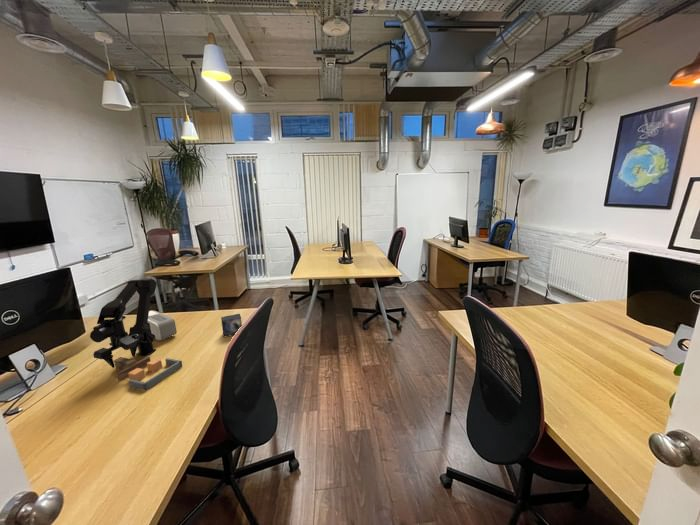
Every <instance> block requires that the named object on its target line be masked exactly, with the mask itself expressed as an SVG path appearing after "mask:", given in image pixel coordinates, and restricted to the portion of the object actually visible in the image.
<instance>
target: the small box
mask: <svg viewBox="0 0 700 525" xmlns="http://www.w3.org/2000/svg"><path fill="white" fill-rule="evenodd" d="M220 320H221V328H222V329H221V330H222V334H223V335H224V336H228V337H230V336H229V335H232V336H235V335H234V334H235V333H236V332H237V331H238V329H239V328H240V327H241V326H242V327H243V324H242V323H243V322H242V316H241V313H236V314H230V315H226V316H224V315H223V316H221V317H220ZM223 335H222V336H223ZM224 336H223V337H224Z"/></svg>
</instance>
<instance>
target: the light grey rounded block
mask: <svg viewBox="0 0 700 525" xmlns="http://www.w3.org/2000/svg"><path fill="white" fill-rule="evenodd" d="M147 324H148V326H149V328H150V333H152V334H154V335H155V340H157V341H161V340H162V339H164V340H166V339H165V338H167V337H169V338H171V337H170V336H172V335H174V336H175V335H177V332H178V331H177V325H176V322H175V319H174V318H172V317H171V316H168V315H166V314H164V313H161V312H159V311H156V310H149V314H148V322H147ZM172 337H173V336H172ZM167 339H168V338H167ZM162 341H163V340H162Z"/></svg>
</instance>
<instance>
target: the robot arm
mask: <svg viewBox="0 0 700 525" xmlns="http://www.w3.org/2000/svg"><path fill="white" fill-rule="evenodd" d="M157 284H158V283H157V281H156V280H155V279H154V278H144V279H130V280H128V281H127V284H126V285H125V286H124V288H123V289H121V291H120V292H119V294H117V296H115V298H114V299H113V300H111V301H110V302H107V303H106V304H105V305H103V306H102V308H101V309H100V312H99V315H98V319H97V322H96V326H93V328H92V329H93V330H92V331H91V332H90V334H89V338H90V339H91V341H93V342H95V343H101V342H103V341H105V340H107V339H108V338H109V340H110V343H108V344H109V346H110V347H108V348H107V347H106V348H105V347H102V348H101V347H100V348H99V349H97V350H94V352H93V358H94V359H99V360H104V361H105V362H106V363H107V364H108V365H109V366H110V367H111V368H113V369H114V368H116V367H115V363H114V360H113V357H114V355H113V352H114V351H116V350H118V349H120V348H121V349H123V350H124V351H130V354H131V356H132V357H133V358H135V357H136V356H141V357H147V356H148V355H150V354H152V353H153V352H155V351H157V348H154V347H153V342H154V341H155V340H156V339H155V335H154V334H152V333H150V328H149V326H148V324H147V322H148V314H149V311H150V306H151V299H152V296H153V294H154V293H155V292H156V288H157ZM135 293H137V294H138V296H139V297H138V303H137V311H136V318H135V323H134V325H133V326H131V327H130V328H129V332H128V331H126V329H125V325H124V320H125V319H126V317H127V316H125V315H124V313H125V311H126V310H127V304H128V303H129V302H130V300H131V299H132V298H133V296H134V295H135ZM137 351H138V352H137Z"/></svg>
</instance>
